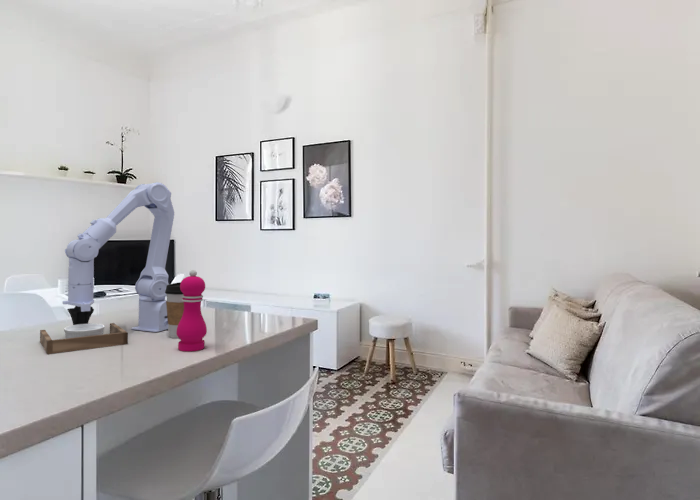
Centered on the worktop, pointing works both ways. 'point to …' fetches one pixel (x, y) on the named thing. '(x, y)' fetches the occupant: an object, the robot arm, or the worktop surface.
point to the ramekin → (83, 330)
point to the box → (84, 341)
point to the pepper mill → (192, 314)
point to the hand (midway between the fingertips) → (80, 334)
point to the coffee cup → (174, 307)
